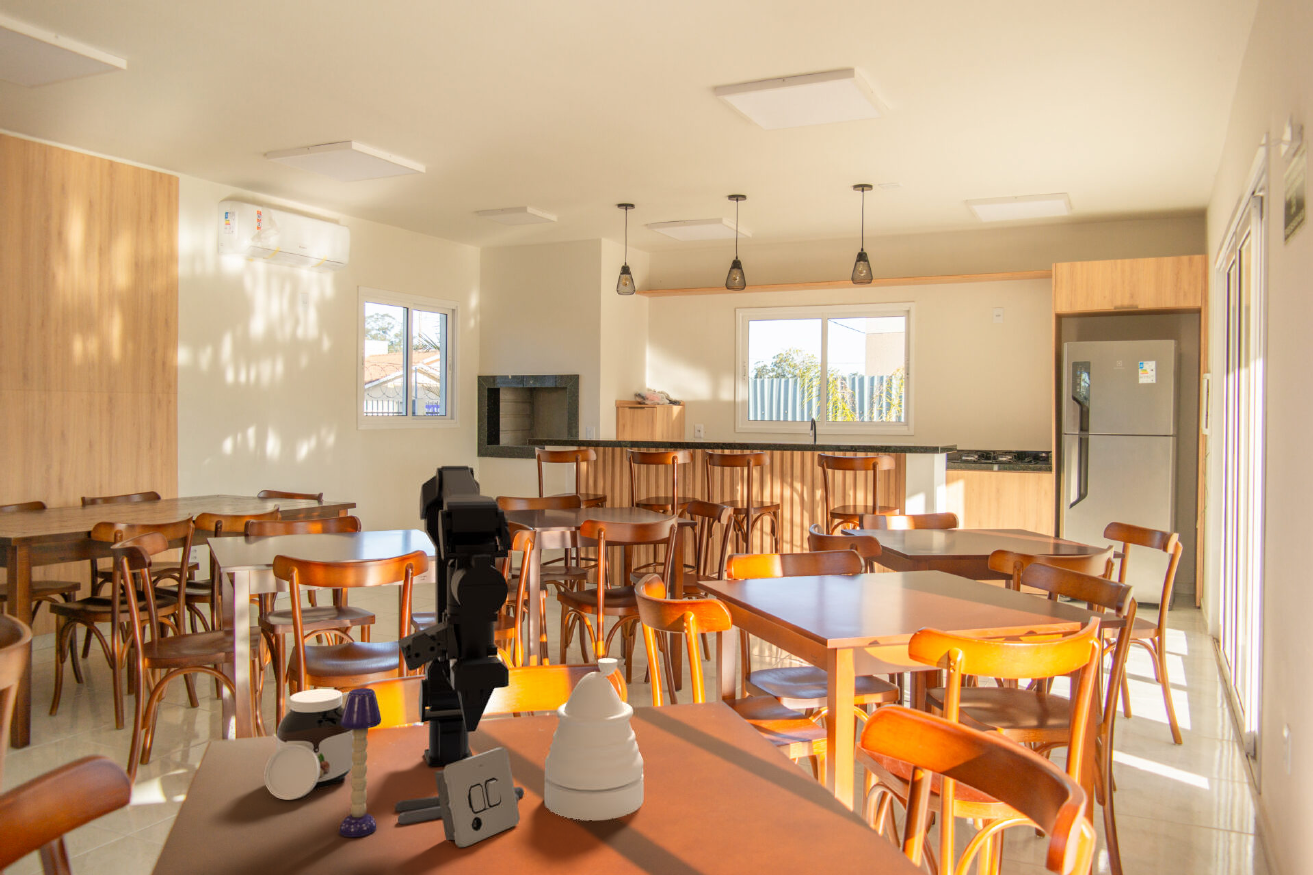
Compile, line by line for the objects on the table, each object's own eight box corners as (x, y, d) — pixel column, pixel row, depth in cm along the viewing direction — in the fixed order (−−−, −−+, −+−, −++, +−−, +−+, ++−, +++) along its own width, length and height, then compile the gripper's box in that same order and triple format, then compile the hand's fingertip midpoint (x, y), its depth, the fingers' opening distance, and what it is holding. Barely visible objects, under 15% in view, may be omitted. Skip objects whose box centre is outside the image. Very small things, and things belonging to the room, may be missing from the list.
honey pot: (613, 775, 131) (614, 646, 131) (661, 807, 120) (662, 666, 120) (528, 793, 125) (528, 658, 124) (571, 828, 114) (571, 680, 113)
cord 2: (396, 823, 115) (396, 811, 115) (516, 801, 122) (516, 790, 122) (399, 827, 114) (399, 815, 114) (520, 805, 121) (520, 794, 121)
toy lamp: (345, 821, 115) (345, 685, 115) (383, 820, 116) (384, 684, 115) (335, 838, 110) (336, 696, 110) (376, 837, 111) (376, 695, 111)
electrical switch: (460, 851, 107) (456, 768, 108) (432, 843, 110) (428, 762, 111) (521, 825, 115) (517, 747, 115) (493, 818, 118) (488, 743, 118)
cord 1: (394, 810, 119) (394, 799, 119) (522, 795, 125) (522, 784, 125) (395, 814, 118) (395, 803, 118) (524, 798, 123) (524, 788, 123)
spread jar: (348, 765, 135) (349, 684, 135) (363, 792, 125) (364, 704, 125) (258, 779, 129) (258, 694, 129) (266, 808, 119) (266, 716, 119)
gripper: (397, 594, 121) (397, 716, 121) (409, 620, 103) (408, 762, 103) (484, 590, 125) (484, 708, 125) (509, 614, 107) (509, 751, 107)
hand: (470, 730), depth 115 cm, fingers closed
